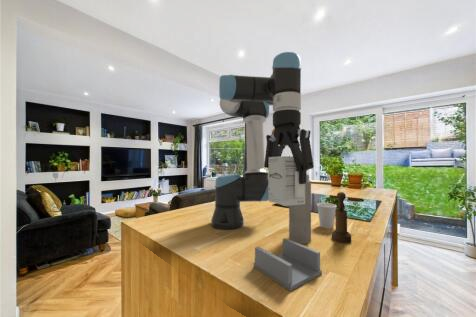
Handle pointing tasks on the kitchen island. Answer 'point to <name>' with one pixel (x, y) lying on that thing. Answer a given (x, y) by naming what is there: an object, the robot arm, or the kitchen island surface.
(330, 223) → the dixie cup
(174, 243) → the kitchen island surface
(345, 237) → the brown wooden turned piece
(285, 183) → the supplement box
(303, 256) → the holder
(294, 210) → the thermos bottle
